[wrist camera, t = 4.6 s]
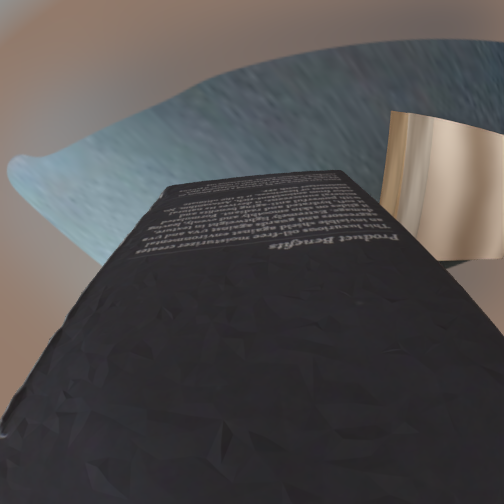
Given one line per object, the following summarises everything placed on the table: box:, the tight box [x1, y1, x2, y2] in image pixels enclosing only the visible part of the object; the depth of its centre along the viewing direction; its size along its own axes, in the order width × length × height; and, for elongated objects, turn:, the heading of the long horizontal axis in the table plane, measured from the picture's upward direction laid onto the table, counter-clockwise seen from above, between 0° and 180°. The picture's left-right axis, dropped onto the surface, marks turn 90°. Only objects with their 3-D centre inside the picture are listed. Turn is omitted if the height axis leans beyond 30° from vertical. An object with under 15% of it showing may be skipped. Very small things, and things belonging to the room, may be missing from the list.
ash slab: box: [396, 113, 504, 261], centre depth 20 cm, size 10×10×4 cm
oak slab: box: [380, 111, 409, 219], centre depth 23 cm, size 10×10×4 cm
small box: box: [0, 170, 504, 504], centre depth 8 cm, size 11×6×10 cm, turn 6°
